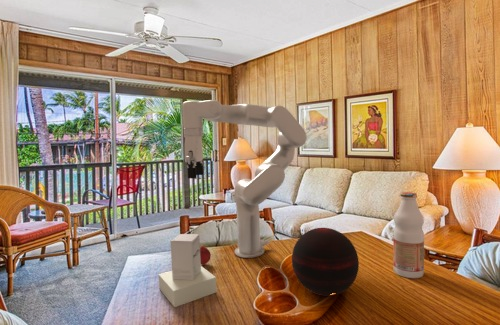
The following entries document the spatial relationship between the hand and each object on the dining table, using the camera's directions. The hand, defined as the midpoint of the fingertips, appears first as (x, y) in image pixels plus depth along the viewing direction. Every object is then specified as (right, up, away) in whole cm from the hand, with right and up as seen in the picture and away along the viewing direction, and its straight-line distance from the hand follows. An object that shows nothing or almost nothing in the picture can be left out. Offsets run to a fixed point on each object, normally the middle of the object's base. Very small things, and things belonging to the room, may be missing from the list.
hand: (195, 176), depth 121 cm
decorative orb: (+45, -35, -25) cm, 62 cm away
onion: (+3, -35, -2) cm, 35 cm away
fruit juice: (+76, -33, -15) cm, 85 cm away
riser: (+1, -36, -21) cm, 42 cm away
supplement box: (+1, -31, -21) cm, 38 cm away
